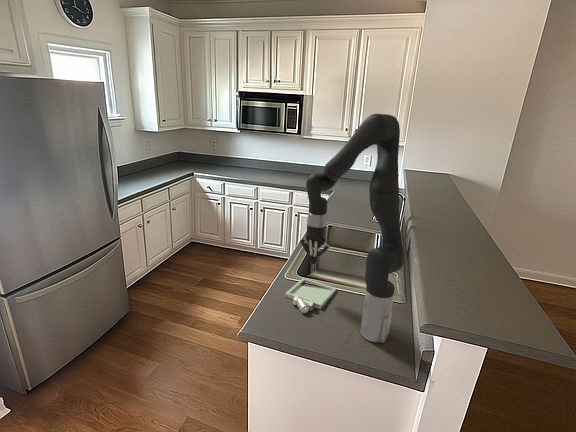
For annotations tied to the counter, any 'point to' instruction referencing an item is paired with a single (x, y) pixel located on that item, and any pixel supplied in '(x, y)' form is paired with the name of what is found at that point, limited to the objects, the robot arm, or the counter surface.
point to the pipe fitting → (303, 304)
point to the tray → (311, 292)
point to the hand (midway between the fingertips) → (313, 263)
